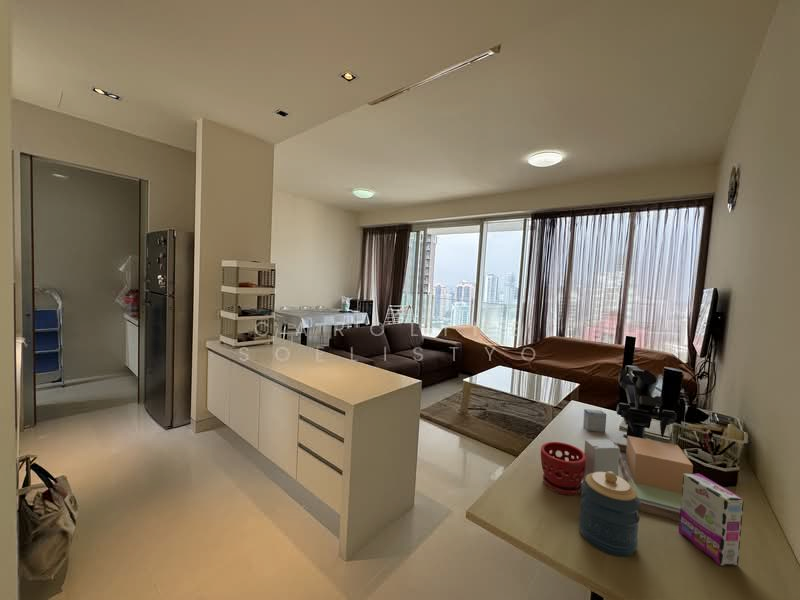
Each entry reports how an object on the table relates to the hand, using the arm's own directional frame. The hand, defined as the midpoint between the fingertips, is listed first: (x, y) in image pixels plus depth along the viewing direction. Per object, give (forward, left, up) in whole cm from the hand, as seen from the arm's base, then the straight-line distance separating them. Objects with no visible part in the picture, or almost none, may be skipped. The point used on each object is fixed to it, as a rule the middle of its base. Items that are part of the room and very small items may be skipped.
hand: (647, 433), depth 127 cm
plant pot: (+46, +4, -10) cm, 48 cm away
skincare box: (+34, +8, -10) cm, 37 cm away
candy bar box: (+30, +35, -10) cm, 48 cm away
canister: (+52, +25, -10) cm, 59 cm away
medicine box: (-4, -26, -10) cm, 28 cm away
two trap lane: (+12, +12, -10) cm, 20 cm away
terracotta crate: (+10, +10, -10) cm, 17 cm away
